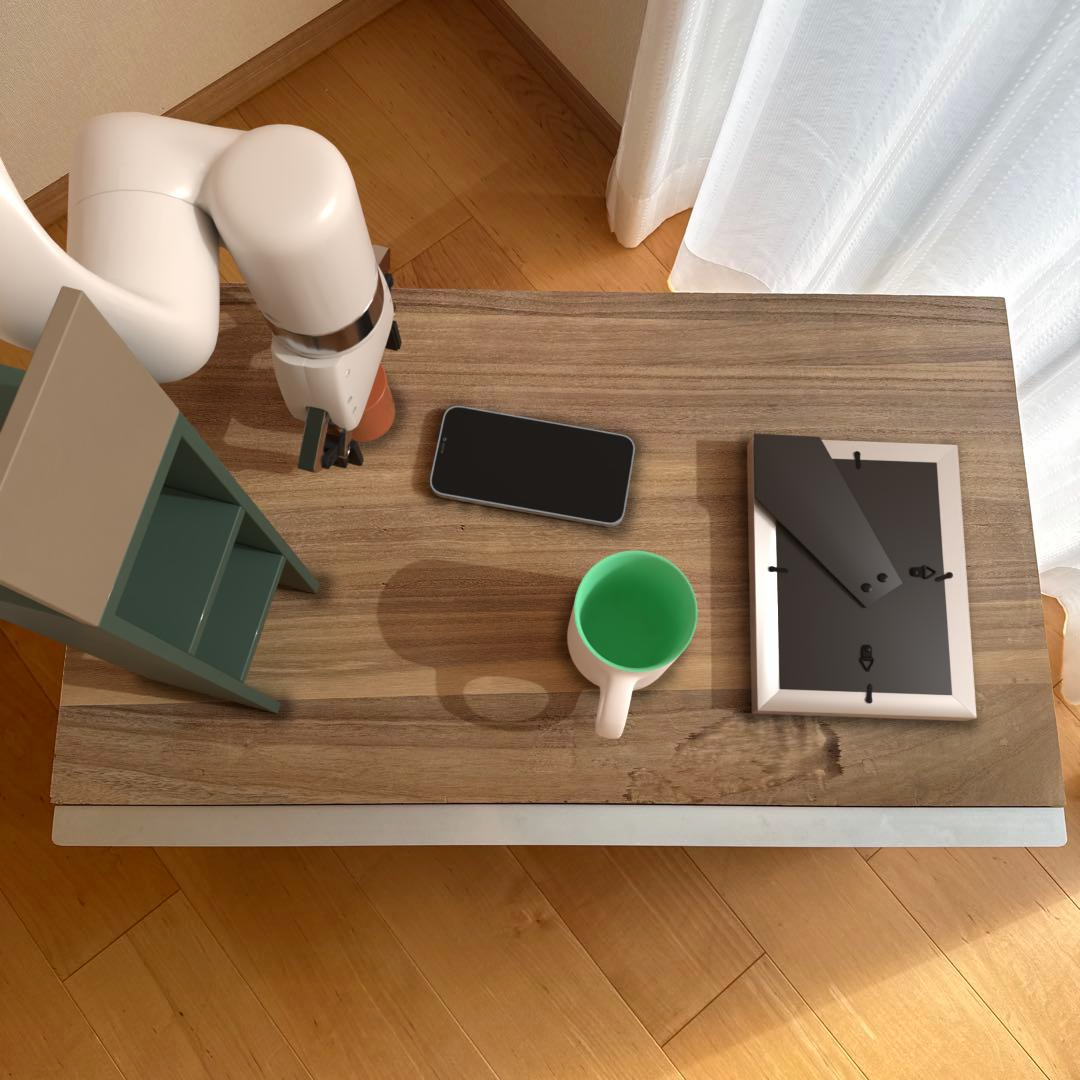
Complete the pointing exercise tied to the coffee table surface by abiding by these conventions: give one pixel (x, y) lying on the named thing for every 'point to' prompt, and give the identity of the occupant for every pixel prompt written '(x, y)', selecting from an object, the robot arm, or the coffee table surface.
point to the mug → (629, 628)
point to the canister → (376, 411)
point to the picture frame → (858, 580)
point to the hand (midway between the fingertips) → (362, 399)
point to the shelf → (128, 518)
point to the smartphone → (533, 466)
